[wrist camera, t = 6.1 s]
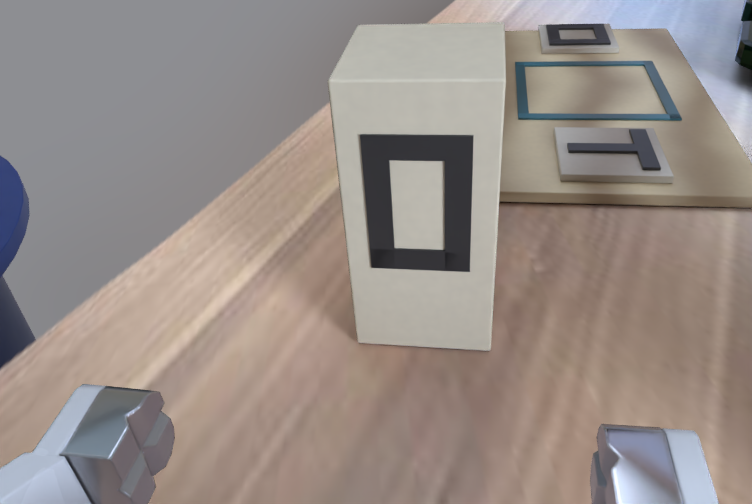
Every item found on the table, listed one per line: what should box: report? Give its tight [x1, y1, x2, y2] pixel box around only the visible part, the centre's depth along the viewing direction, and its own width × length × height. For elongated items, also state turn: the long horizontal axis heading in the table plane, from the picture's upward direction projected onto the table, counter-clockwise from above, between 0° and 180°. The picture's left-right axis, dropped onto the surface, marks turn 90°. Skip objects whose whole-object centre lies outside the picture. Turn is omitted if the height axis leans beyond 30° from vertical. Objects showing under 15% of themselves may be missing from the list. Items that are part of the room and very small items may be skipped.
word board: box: [499, 24, 752, 208], centre depth 39 cm, size 13×23×1 cm, turn 171°
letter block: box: [328, 22, 506, 351], centre depth 22 cm, size 5×5×10 cm
